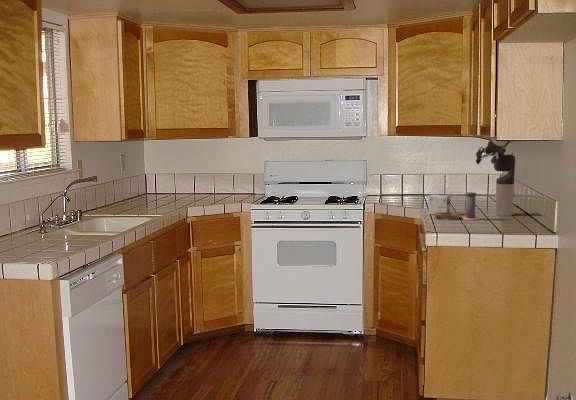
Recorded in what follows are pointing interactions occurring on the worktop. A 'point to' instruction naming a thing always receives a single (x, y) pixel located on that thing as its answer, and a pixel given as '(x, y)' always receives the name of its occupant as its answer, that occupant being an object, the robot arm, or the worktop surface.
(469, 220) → the orange round disc
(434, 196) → the light bulb box
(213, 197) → the worktop surface
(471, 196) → the plug
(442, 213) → the brown wooden square frame
